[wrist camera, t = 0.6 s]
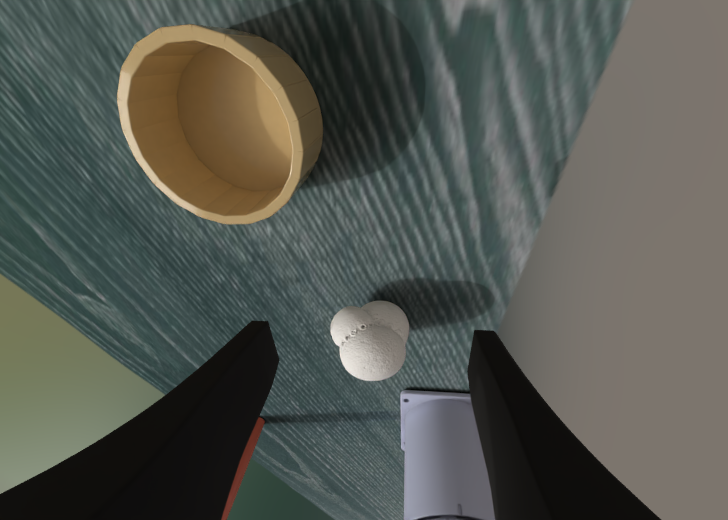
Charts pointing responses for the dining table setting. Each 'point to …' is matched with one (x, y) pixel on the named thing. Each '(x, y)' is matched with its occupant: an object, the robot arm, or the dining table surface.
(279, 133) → the tumbler
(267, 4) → the dining table surface
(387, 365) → the microfossil shell
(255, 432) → the straw
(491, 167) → the dining table surface
